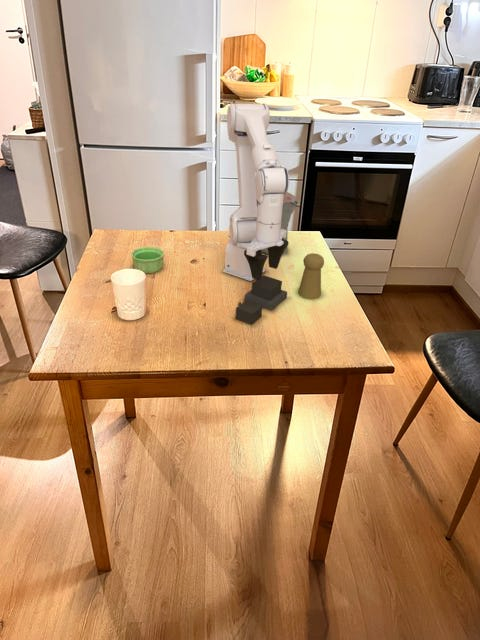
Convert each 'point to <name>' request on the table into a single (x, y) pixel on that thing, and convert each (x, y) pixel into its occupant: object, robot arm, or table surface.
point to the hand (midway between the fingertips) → (264, 273)
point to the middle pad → (266, 287)
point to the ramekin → (148, 259)
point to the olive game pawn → (311, 277)
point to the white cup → (129, 293)
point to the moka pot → (286, 214)
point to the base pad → (267, 303)
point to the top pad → (248, 312)
